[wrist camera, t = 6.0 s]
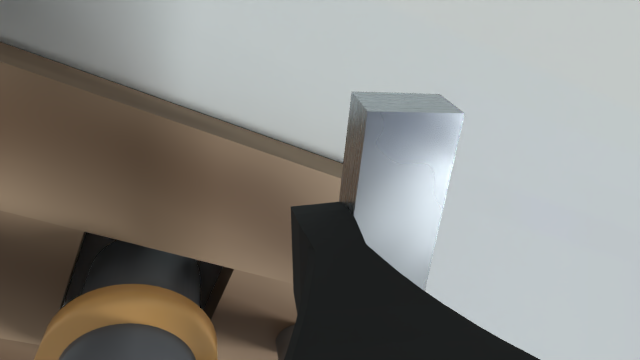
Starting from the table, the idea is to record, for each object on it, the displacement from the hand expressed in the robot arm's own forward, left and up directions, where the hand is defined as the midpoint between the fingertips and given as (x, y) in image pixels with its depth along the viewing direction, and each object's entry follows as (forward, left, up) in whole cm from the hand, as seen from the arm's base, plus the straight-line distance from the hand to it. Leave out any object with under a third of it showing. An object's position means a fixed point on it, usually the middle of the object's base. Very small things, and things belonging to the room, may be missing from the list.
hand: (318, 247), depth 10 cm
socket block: (-8, +2, -8) cm, 12 cm away
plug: (-8, +2, -8) cm, 12 cm away
